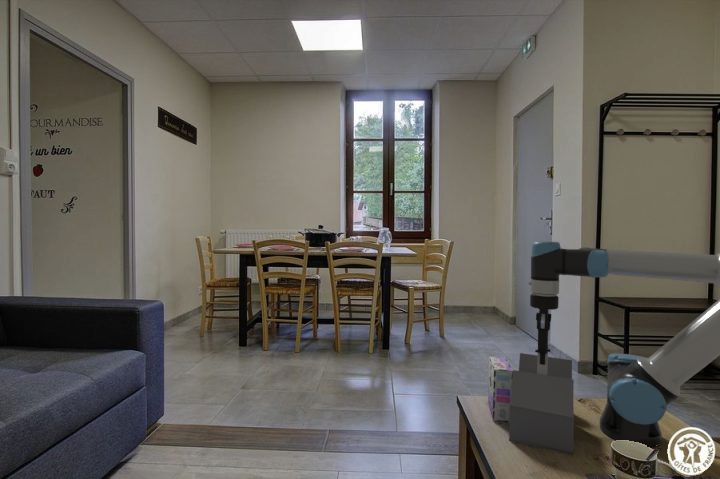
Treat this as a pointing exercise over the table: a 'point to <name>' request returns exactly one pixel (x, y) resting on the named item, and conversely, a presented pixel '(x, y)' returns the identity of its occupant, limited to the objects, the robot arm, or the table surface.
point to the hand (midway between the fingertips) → (542, 374)
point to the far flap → (555, 366)
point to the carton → (541, 429)
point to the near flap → (542, 393)
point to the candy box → (499, 388)
